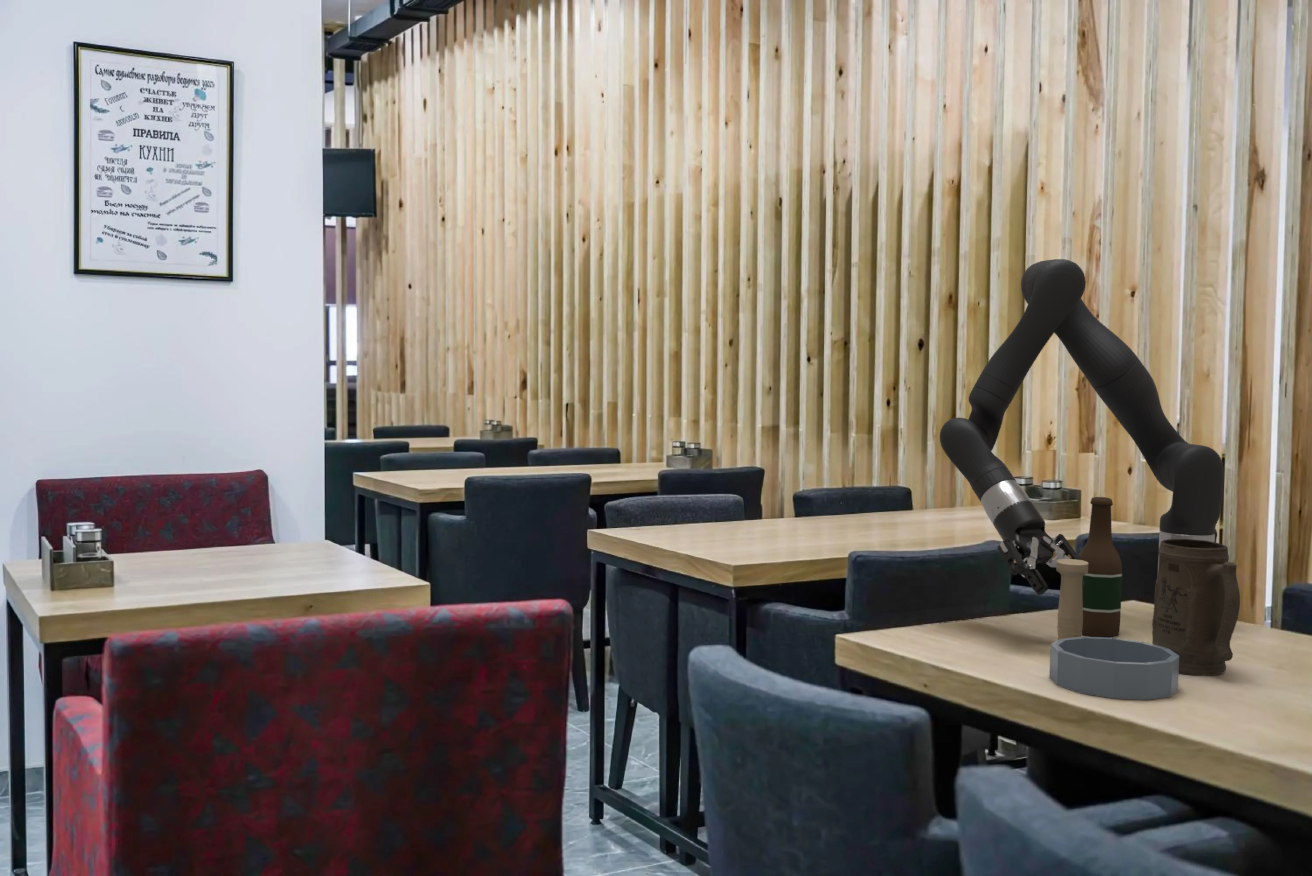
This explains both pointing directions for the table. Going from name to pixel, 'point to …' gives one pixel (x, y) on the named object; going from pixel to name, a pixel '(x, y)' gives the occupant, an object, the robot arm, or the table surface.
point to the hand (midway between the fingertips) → (1062, 590)
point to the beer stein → (1196, 604)
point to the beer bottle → (1101, 575)
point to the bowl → (1114, 668)
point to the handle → (1070, 597)
